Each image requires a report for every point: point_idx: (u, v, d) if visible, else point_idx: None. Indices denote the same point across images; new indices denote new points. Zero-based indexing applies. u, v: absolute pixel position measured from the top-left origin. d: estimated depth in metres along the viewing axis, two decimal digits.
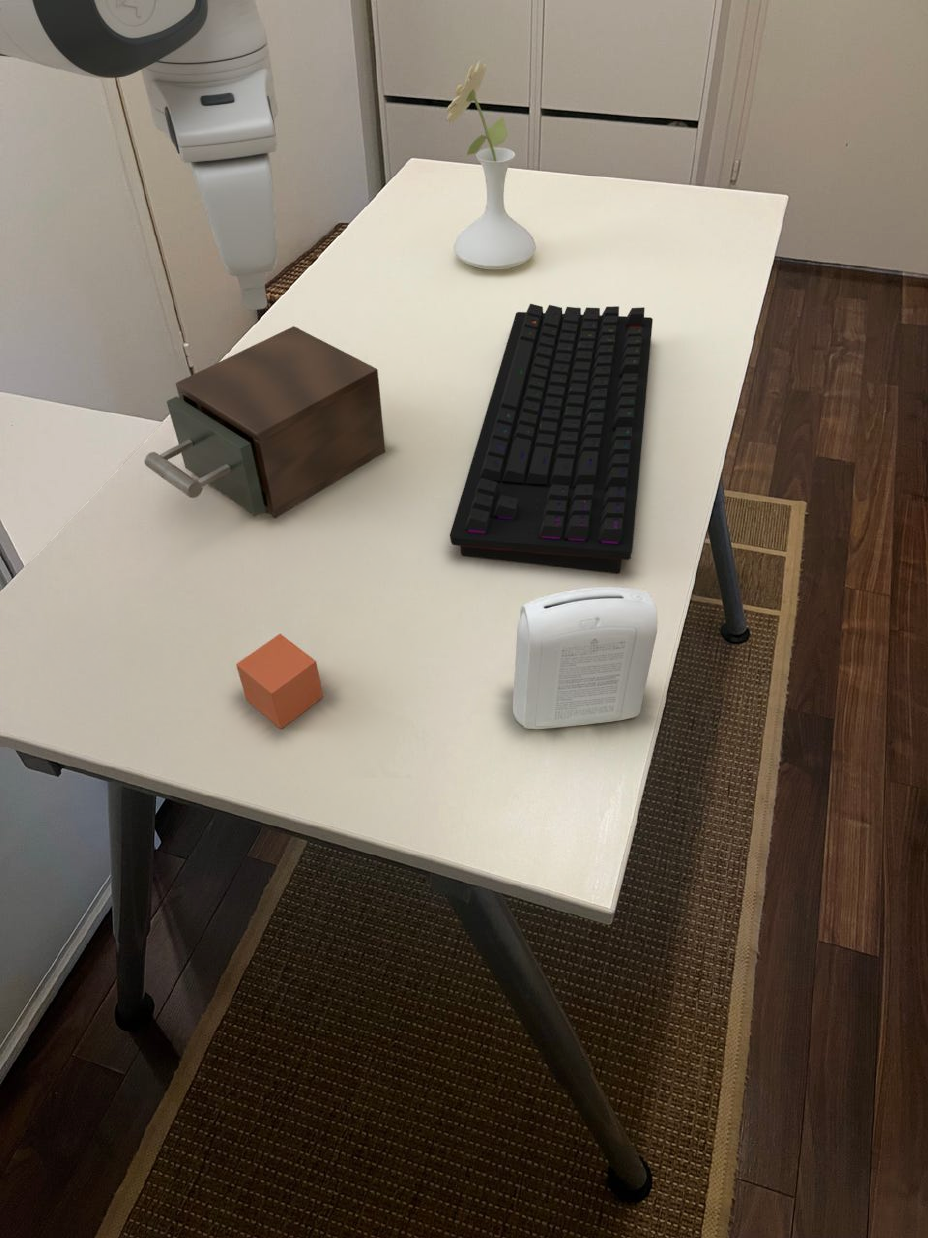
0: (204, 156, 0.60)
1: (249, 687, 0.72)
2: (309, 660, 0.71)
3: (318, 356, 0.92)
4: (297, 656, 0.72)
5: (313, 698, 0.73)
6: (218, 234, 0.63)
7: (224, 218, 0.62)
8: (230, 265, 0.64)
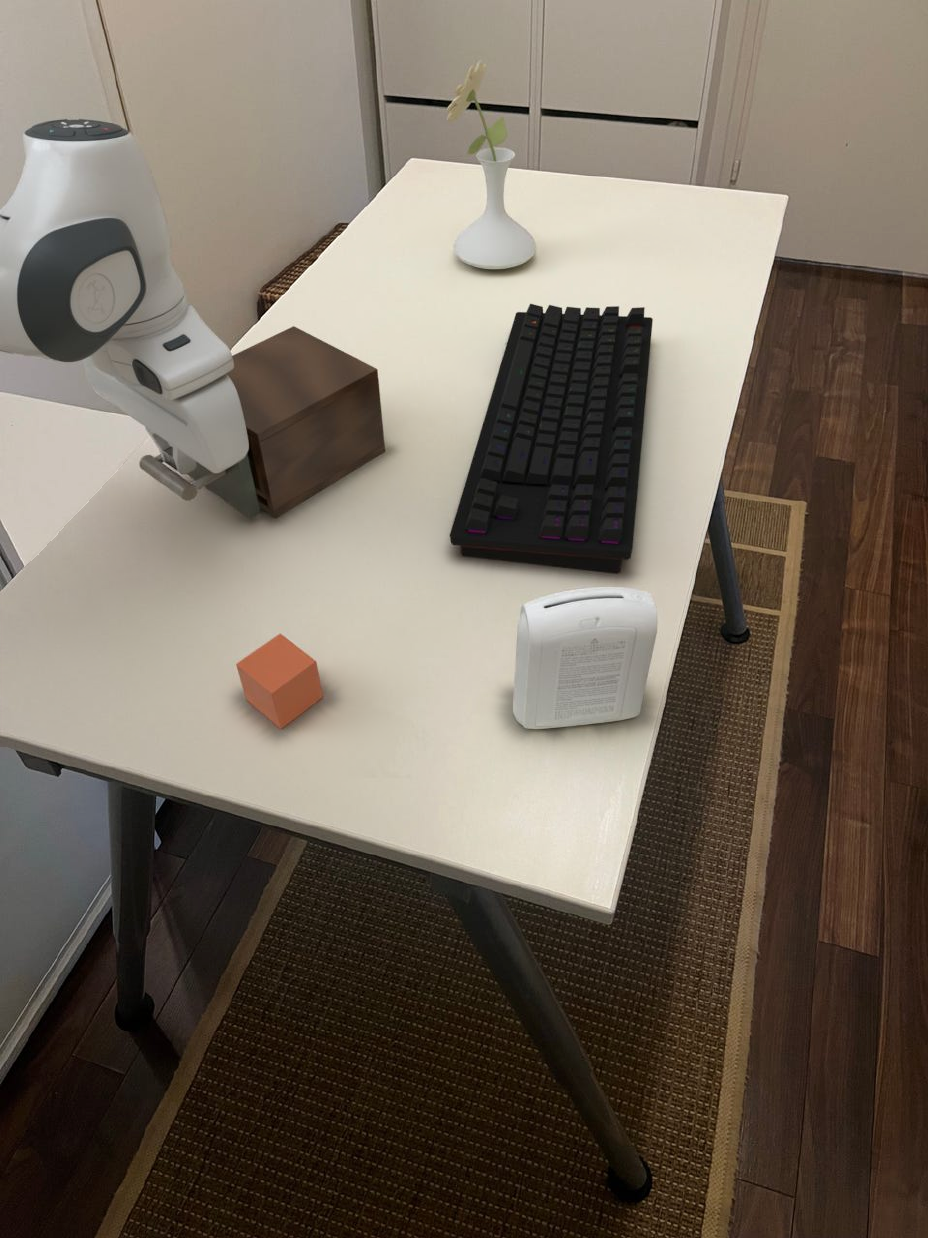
0: (187, 391, 0.72)
1: (249, 687, 0.72)
2: (309, 660, 0.71)
3: (318, 356, 0.92)
4: (297, 656, 0.72)
5: (313, 698, 0.73)
6: (208, 446, 0.75)
7: (211, 433, 0.75)
8: (218, 466, 0.77)
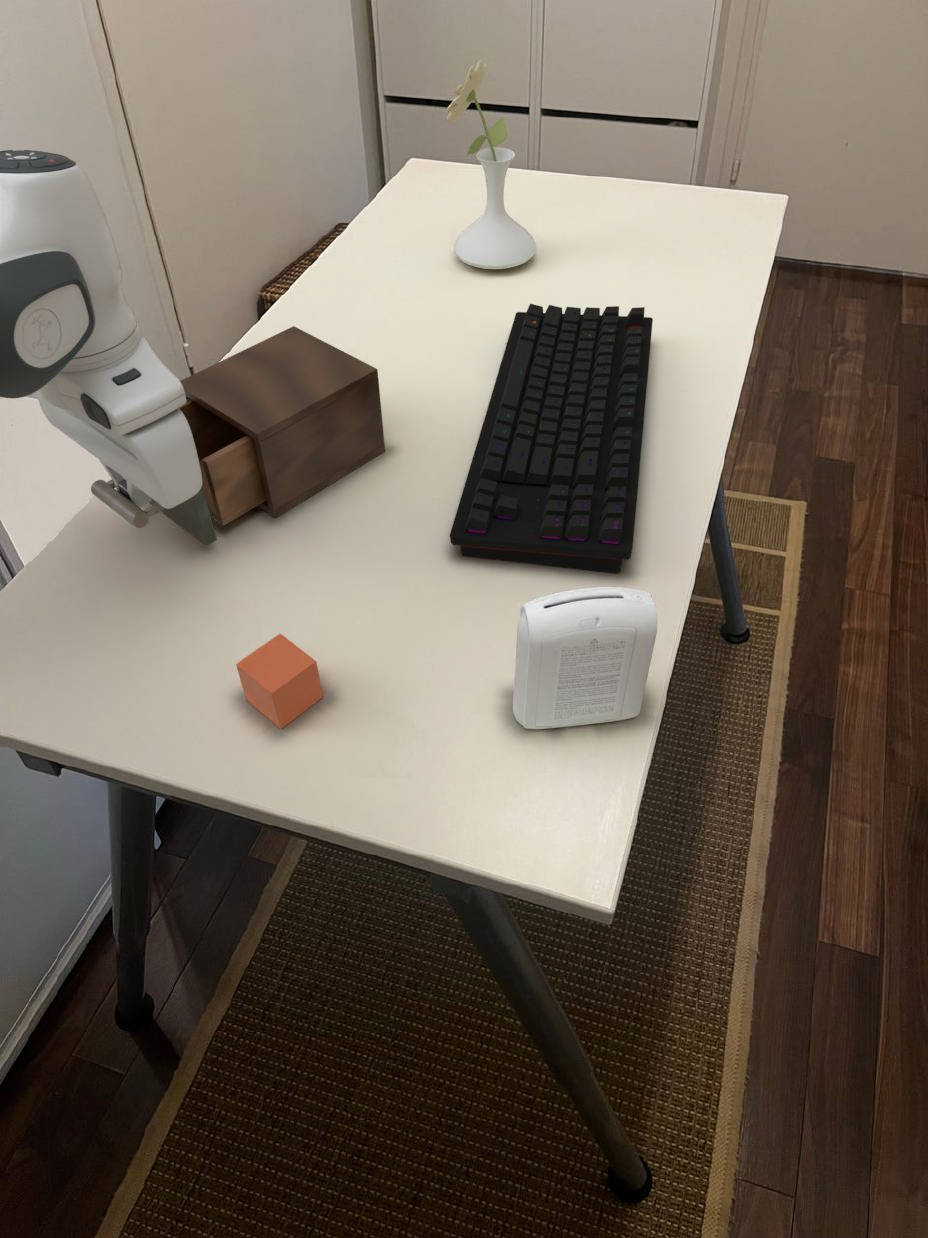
0: (137, 426, 0.71)
1: (249, 687, 0.72)
2: (309, 660, 0.71)
3: (318, 356, 0.92)
4: (297, 656, 0.72)
5: (313, 698, 0.73)
6: (159, 482, 0.73)
7: (162, 469, 0.73)
8: (170, 502, 0.75)
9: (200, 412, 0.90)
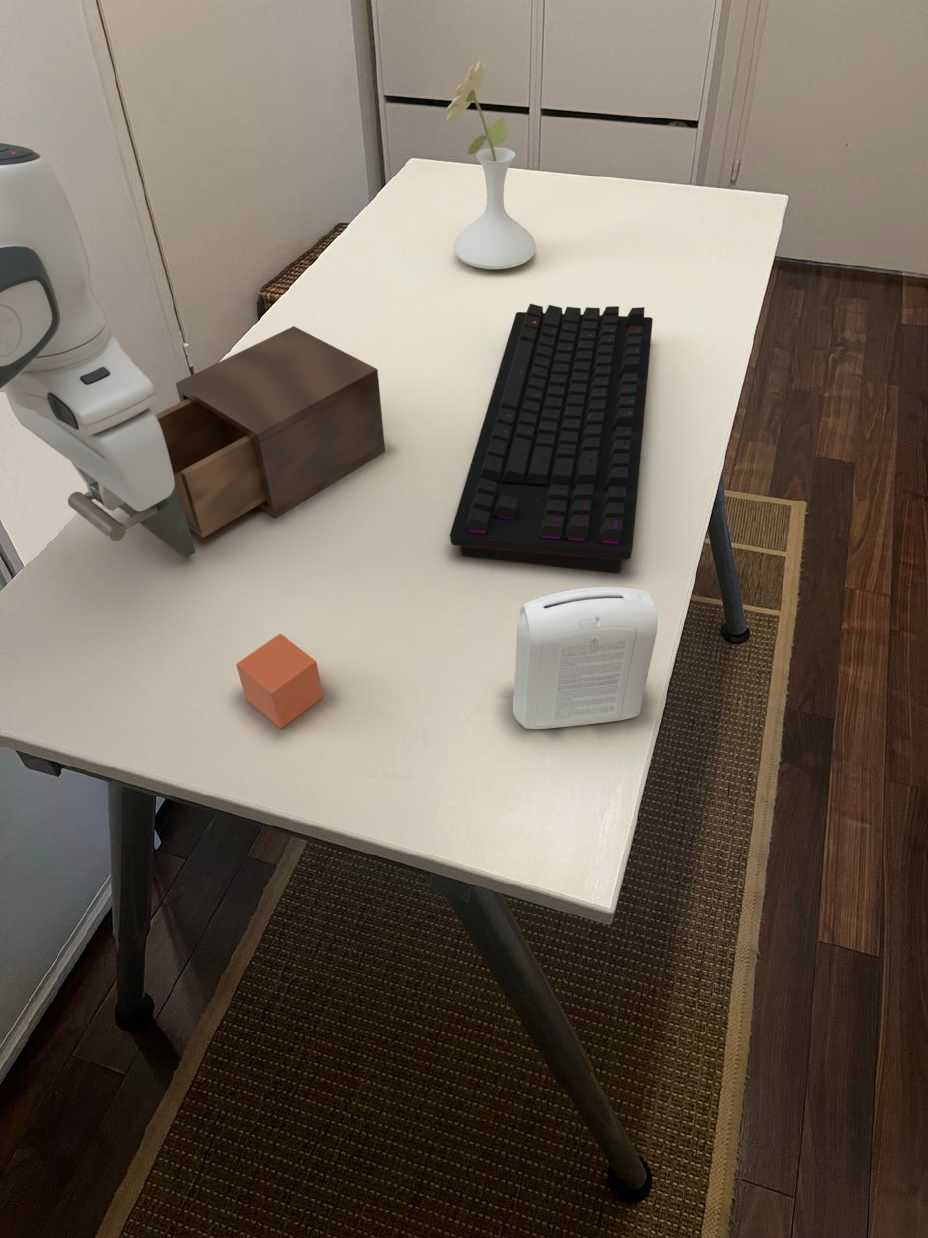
0: (105, 427, 0.69)
1: (249, 687, 0.72)
2: (309, 660, 0.71)
3: (318, 356, 0.92)
4: (297, 656, 0.72)
5: (313, 698, 0.73)
6: (129, 484, 0.71)
7: (132, 470, 0.71)
8: (141, 504, 0.73)
9: (180, 422, 0.89)
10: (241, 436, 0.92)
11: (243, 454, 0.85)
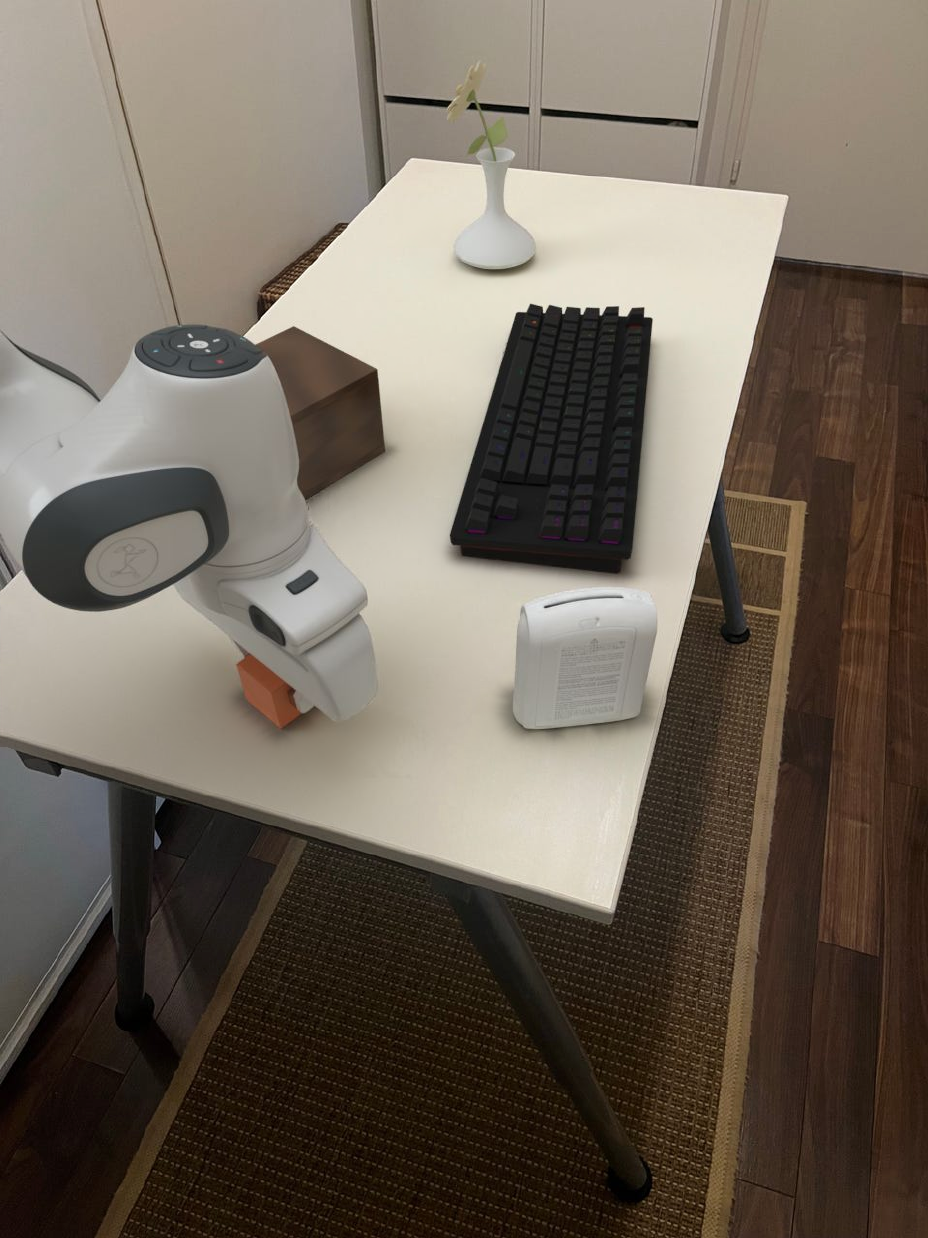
0: (316, 643, 0.59)
1: (249, 687, 0.72)
2: None
3: (318, 356, 0.92)
4: None
5: None
6: (334, 700, 0.62)
7: (339, 685, 0.61)
8: (344, 718, 0.63)
9: None
10: None
11: None
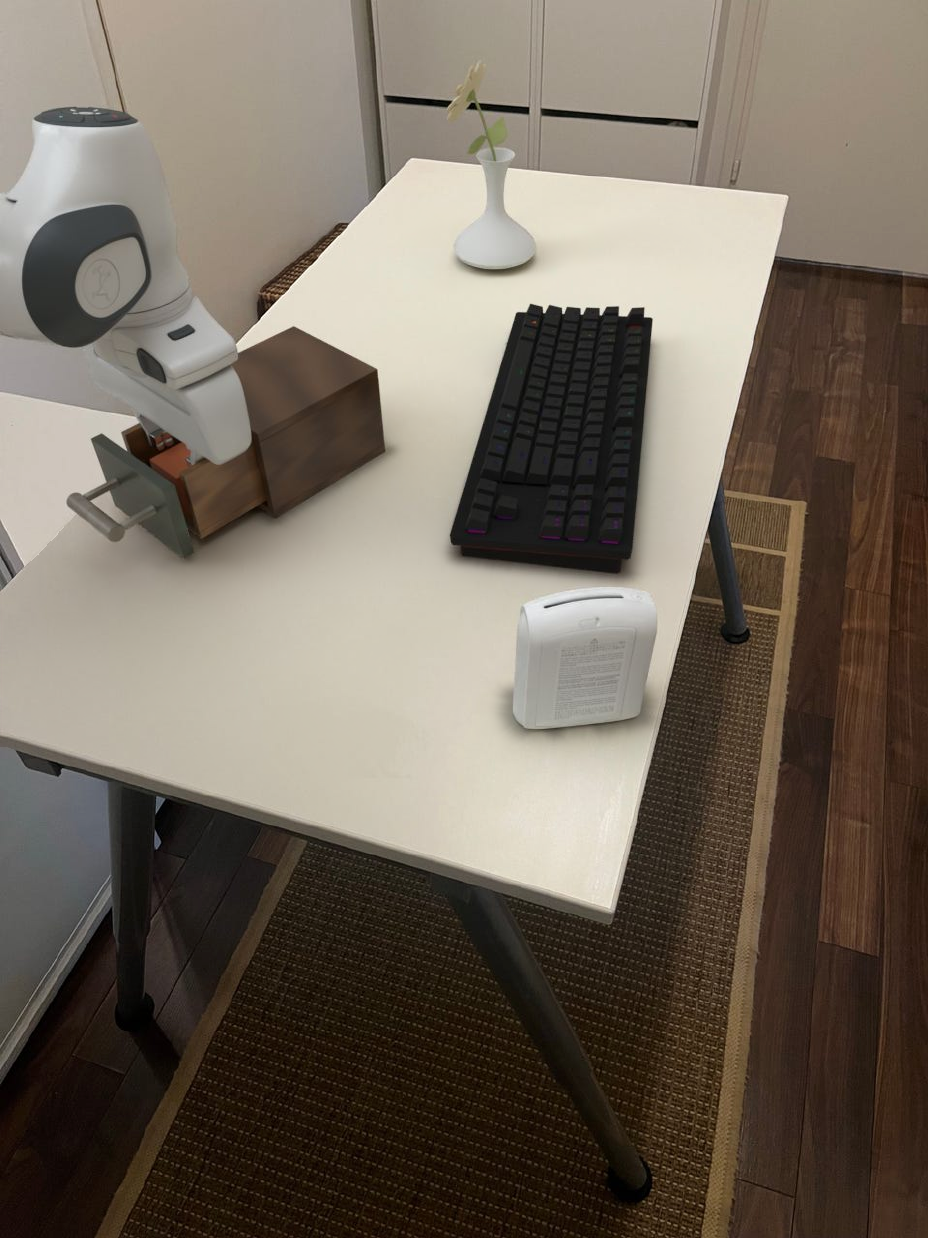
0: (191, 380, 0.72)
1: None
2: None
3: (318, 356, 0.92)
4: None
5: None
6: (211, 437, 0.75)
7: (214, 423, 0.75)
8: (221, 457, 0.77)
9: None
10: None
11: (241, 455, 0.85)
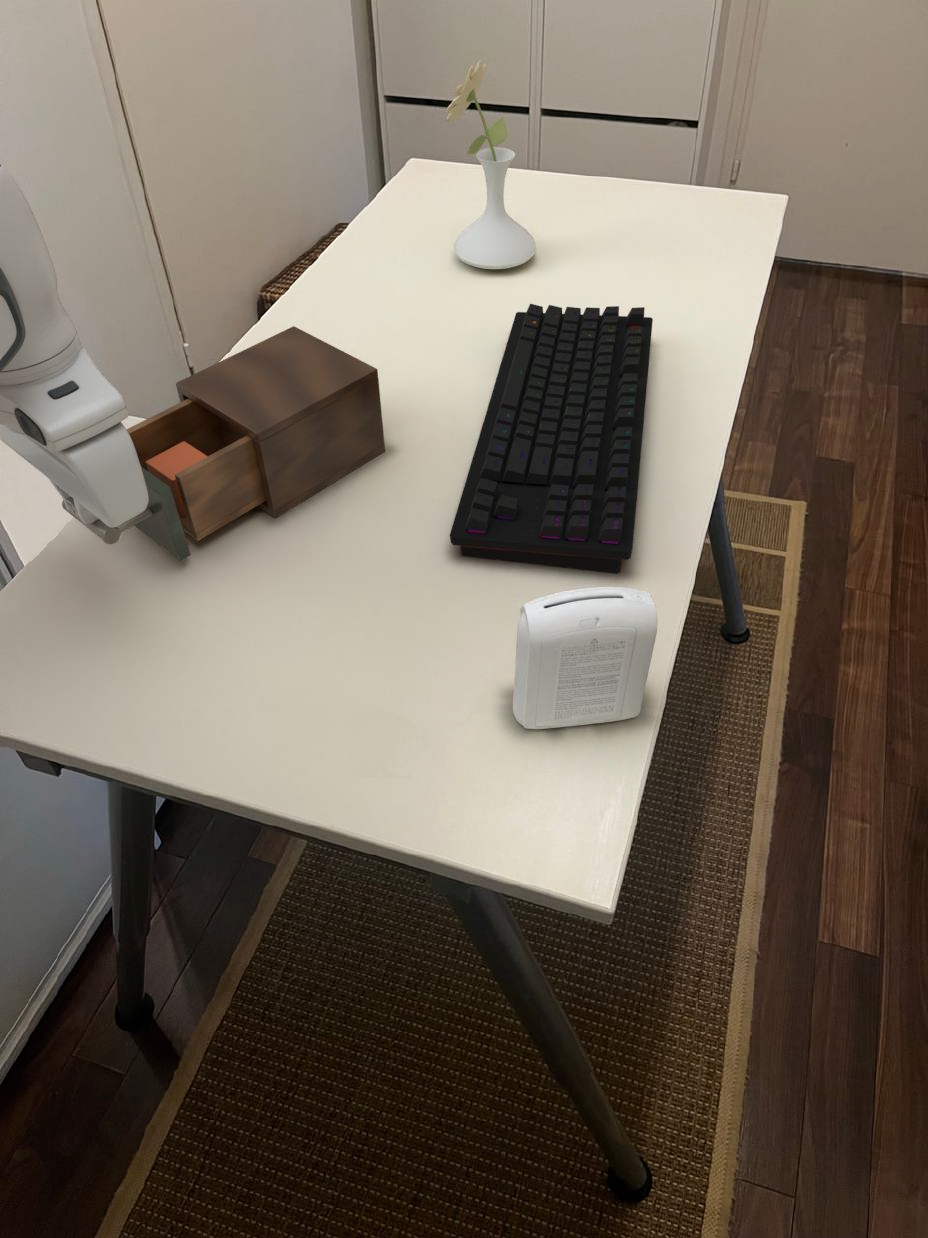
0: (74, 442, 0.67)
1: None
2: None
3: (318, 356, 0.92)
4: (196, 456, 0.86)
5: None
6: (100, 500, 0.70)
7: (103, 486, 0.69)
8: (114, 521, 0.71)
9: (175, 425, 0.89)
10: (236, 438, 0.92)
11: (238, 457, 0.85)
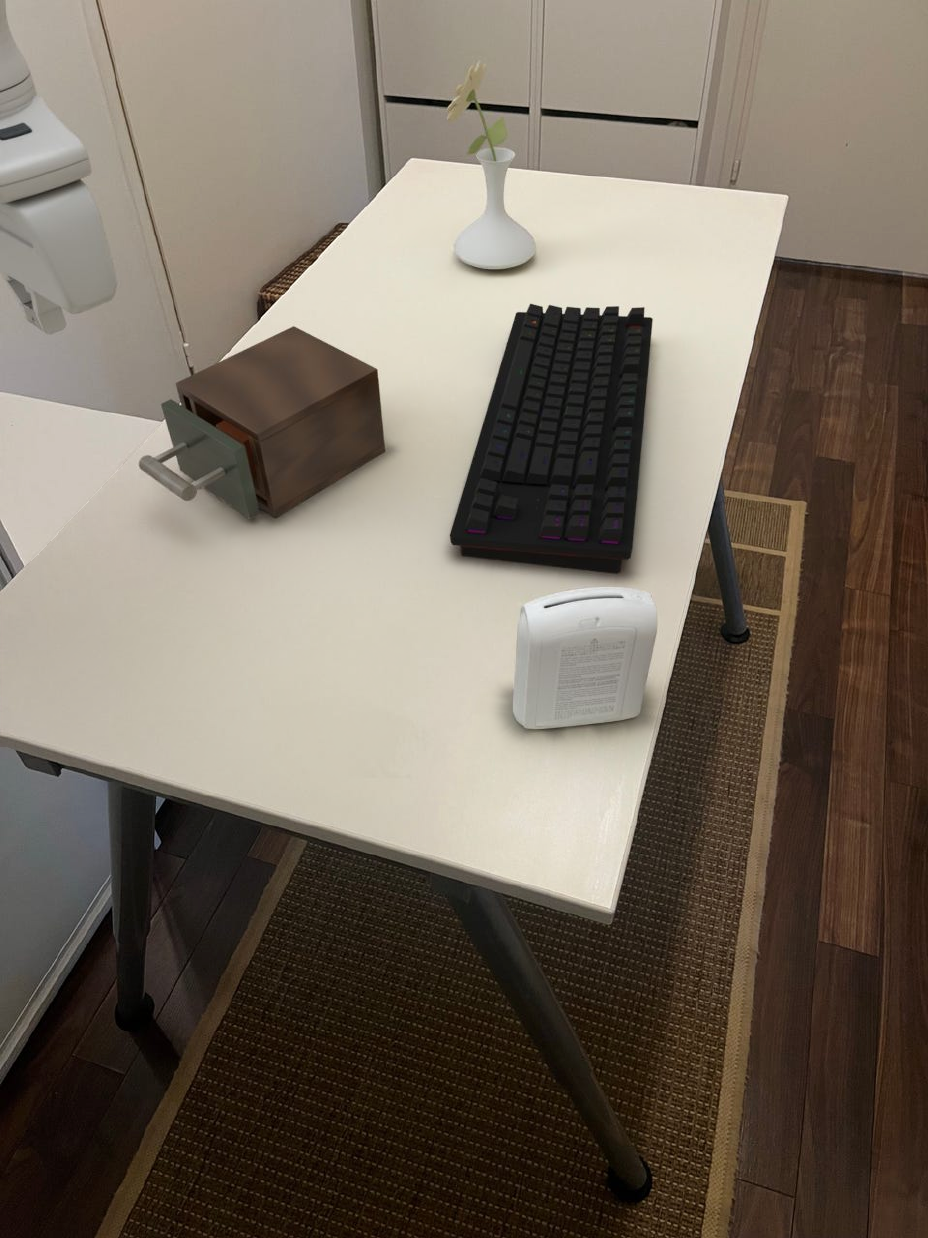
0: (25, 192, 0.56)
1: None
2: None
3: (318, 356, 0.92)
4: None
5: None
6: (58, 272, 0.59)
7: (61, 254, 0.59)
8: (75, 302, 0.61)
9: None
10: None
11: None
